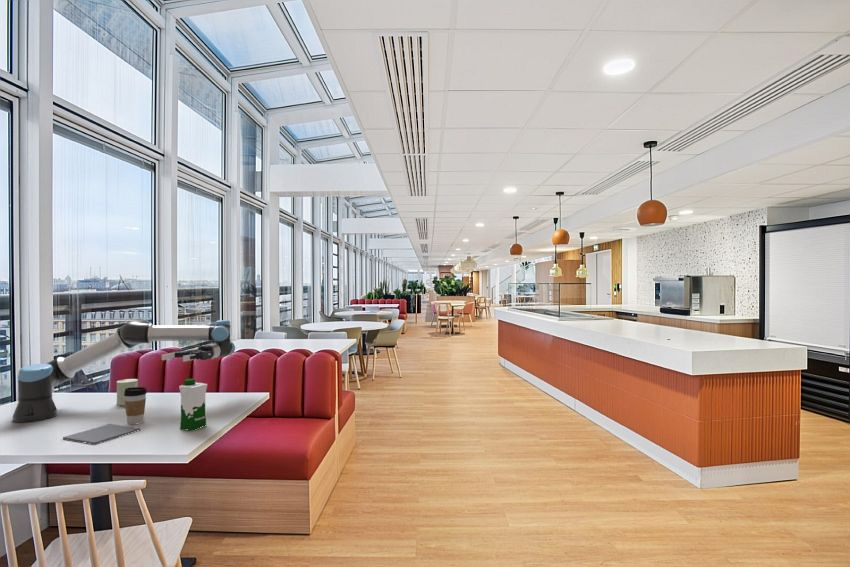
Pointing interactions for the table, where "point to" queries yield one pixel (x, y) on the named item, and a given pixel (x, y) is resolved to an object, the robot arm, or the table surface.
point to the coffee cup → (135, 404)
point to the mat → (101, 433)
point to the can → (121, 389)
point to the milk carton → (192, 404)
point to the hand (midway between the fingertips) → (172, 358)
